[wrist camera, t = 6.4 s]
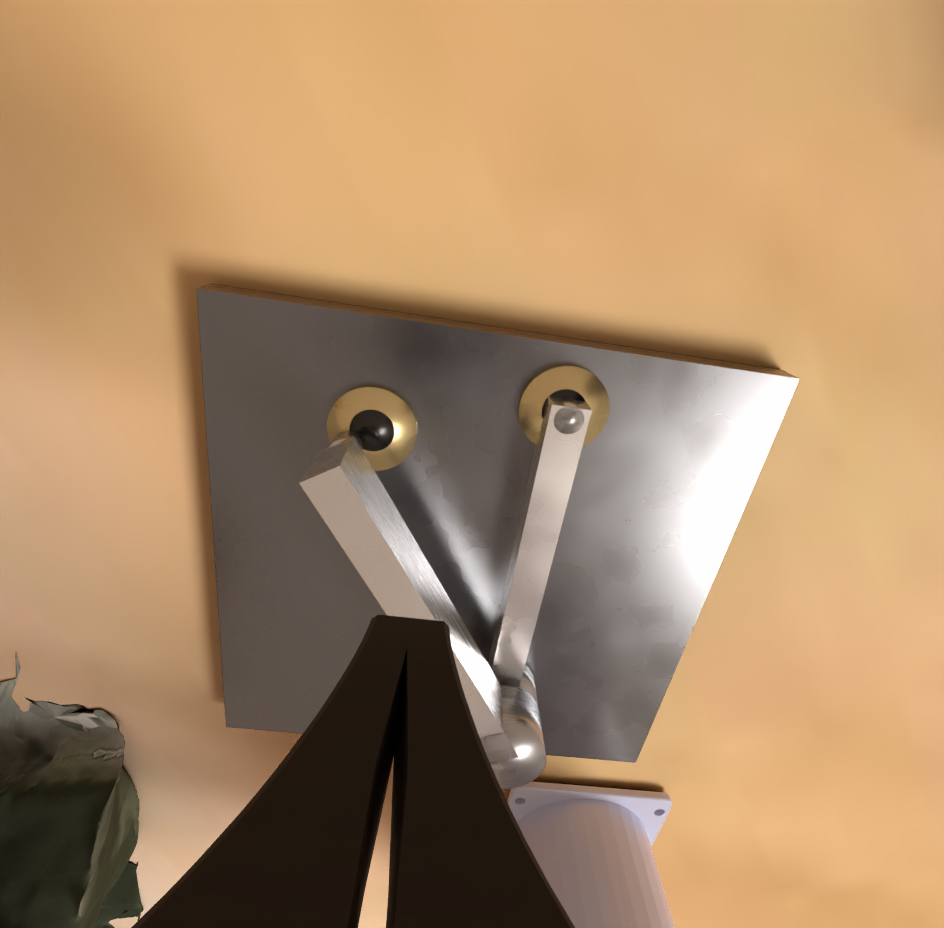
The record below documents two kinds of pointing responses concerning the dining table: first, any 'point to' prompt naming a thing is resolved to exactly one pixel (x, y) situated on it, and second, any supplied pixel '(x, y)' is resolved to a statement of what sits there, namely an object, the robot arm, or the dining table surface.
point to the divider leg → (421, 600)
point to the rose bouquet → (64, 817)
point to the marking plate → (474, 501)
